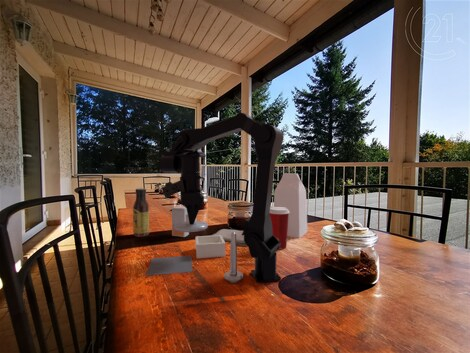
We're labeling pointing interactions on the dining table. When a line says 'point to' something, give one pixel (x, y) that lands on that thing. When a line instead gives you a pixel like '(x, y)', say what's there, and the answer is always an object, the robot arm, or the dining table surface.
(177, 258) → the mat
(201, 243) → the dish
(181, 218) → the skincare box
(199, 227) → the lid
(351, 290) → the dining table surface
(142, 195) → the sauce bottle
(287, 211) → the paper cup
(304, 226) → the milk
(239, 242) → the washcloth
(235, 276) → the screw
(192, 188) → the robot arm
